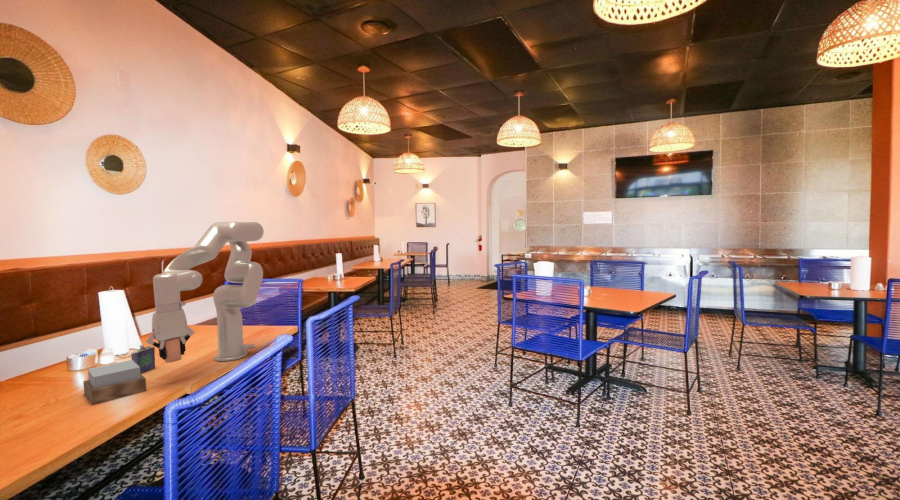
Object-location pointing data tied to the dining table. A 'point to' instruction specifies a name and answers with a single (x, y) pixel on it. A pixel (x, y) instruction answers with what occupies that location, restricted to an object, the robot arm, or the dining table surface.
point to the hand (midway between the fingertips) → (173, 355)
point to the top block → (113, 374)
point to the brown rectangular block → (173, 350)
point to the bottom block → (114, 390)
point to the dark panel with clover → (144, 358)
